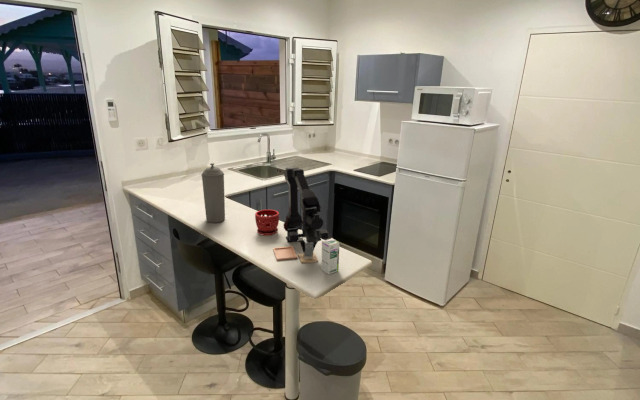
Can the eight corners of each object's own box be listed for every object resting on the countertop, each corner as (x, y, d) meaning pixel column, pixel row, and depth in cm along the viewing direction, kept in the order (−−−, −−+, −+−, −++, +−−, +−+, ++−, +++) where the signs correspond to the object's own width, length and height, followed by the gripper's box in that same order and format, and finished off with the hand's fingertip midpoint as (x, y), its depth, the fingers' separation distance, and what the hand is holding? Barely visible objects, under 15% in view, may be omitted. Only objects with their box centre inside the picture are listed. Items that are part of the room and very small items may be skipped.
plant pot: (283, 231, 200) (283, 211, 196) (269, 239, 189) (268, 218, 185) (265, 226, 206) (265, 207, 202) (250, 233, 195) (250, 213, 191)
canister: (216, 214, 221) (212, 160, 210) (231, 219, 215) (228, 163, 204) (200, 220, 211) (195, 163, 200) (215, 225, 205) (211, 166, 194)
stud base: (298, 255, 172) (298, 251, 171) (313, 254, 174) (313, 249, 173) (301, 263, 165) (301, 258, 164) (318, 261, 167) (318, 257, 166)
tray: (273, 249, 177) (273, 247, 177) (292, 247, 180) (292, 246, 180) (276, 260, 166) (276, 258, 166) (297, 258, 169) (297, 256, 169)
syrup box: (328, 274, 156) (329, 245, 151) (320, 269, 160) (321, 240, 156) (338, 271, 159) (340, 242, 154) (330, 265, 163) (331, 237, 159)
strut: (303, 252, 170) (303, 239, 168) (311, 251, 171) (311, 238, 169) (304, 256, 166) (305, 243, 164) (313, 255, 167) (313, 242, 165)
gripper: (292, 229, 154) (292, 261, 159) (333, 226, 159) (331, 257, 163) (287, 220, 164) (287, 250, 169) (326, 217, 169) (324, 247, 174)
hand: (308, 251), depth 168 cm, fingers closed on strut, 4 cm apart
